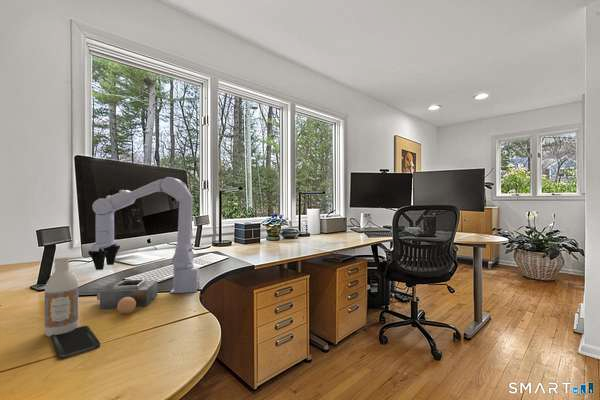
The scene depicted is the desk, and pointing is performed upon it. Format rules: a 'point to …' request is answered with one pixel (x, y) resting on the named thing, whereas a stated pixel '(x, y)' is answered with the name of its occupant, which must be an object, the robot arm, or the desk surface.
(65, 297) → the bath foam
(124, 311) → the bead
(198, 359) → the desk surface
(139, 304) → the grey box with opening
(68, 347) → the phone
